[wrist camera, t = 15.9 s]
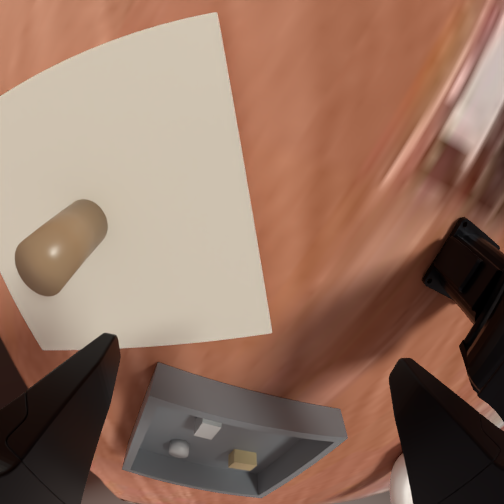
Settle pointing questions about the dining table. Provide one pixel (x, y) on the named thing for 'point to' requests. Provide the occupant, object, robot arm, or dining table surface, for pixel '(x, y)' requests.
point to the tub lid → (130, 196)
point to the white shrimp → (400, 483)
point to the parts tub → (226, 435)
